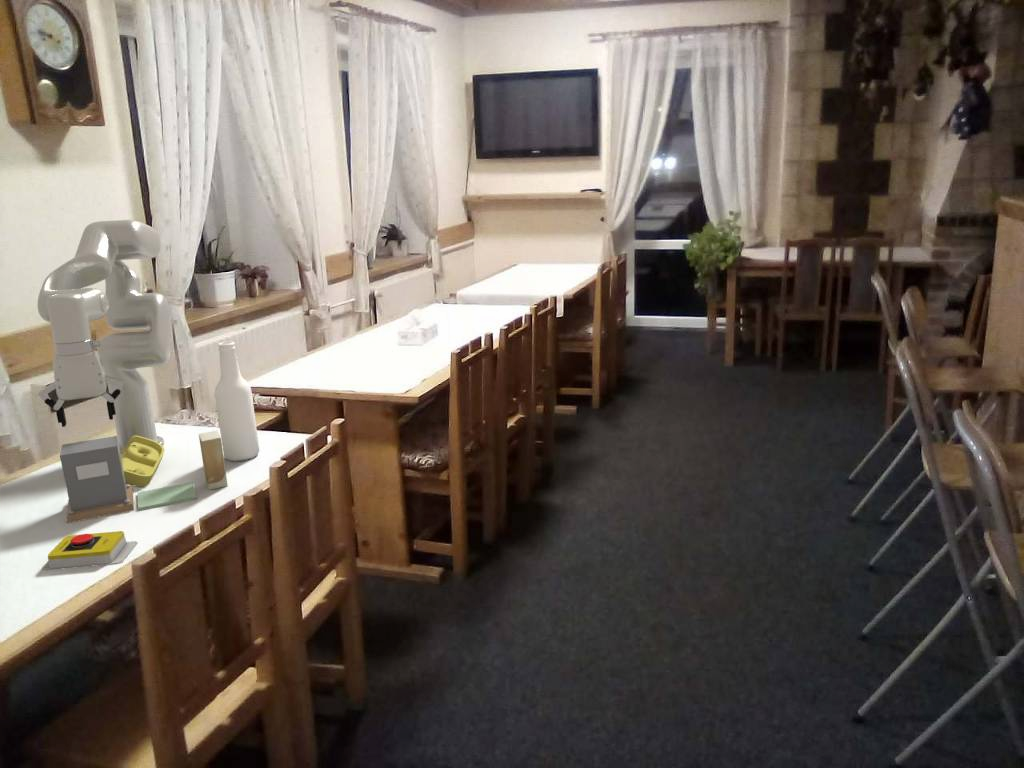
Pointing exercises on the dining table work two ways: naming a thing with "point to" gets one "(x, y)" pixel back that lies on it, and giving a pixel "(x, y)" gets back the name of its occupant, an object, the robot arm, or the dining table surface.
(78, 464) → the mounted unit
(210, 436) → the skincare box
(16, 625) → the dining table surface
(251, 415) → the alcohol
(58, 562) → the emergency button
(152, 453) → the plastic component
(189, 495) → the mat
